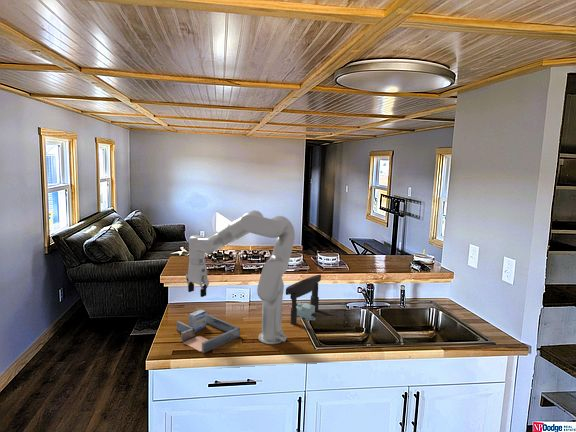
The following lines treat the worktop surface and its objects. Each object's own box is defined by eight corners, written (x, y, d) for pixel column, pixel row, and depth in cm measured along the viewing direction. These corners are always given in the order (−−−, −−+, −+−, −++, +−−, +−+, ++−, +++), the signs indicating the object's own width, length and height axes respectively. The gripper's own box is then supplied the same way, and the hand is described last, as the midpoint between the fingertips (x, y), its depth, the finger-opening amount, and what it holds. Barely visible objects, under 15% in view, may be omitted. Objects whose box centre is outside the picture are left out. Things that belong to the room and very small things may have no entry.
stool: (274, 283, 211) (309, 270, 237) (273, 321, 214) (308, 304, 240) (298, 290, 202) (332, 275, 228) (297, 330, 205) (330, 311, 231)
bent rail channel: (239, 336, 196) (239, 327, 196) (203, 353, 179) (203, 343, 179) (202, 320, 214) (202, 312, 213) (166, 333, 197) (166, 325, 196)
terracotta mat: (216, 344, 188) (216, 343, 188) (200, 352, 180) (200, 351, 180) (199, 336, 195) (199, 335, 195) (183, 343, 188) (183, 342, 188)
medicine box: (195, 332, 199) (195, 315, 198) (188, 330, 202) (188, 313, 200) (206, 326, 206) (206, 310, 205) (199, 324, 208) (199, 308, 207)
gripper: (214, 262, 196) (214, 296, 199) (192, 256, 207) (192, 287, 209) (202, 265, 190) (202, 300, 193) (180, 258, 201) (180, 291, 204)
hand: (197, 293), depth 201 cm, fingers open, 9 cm apart
